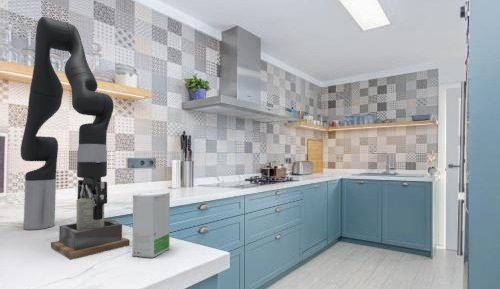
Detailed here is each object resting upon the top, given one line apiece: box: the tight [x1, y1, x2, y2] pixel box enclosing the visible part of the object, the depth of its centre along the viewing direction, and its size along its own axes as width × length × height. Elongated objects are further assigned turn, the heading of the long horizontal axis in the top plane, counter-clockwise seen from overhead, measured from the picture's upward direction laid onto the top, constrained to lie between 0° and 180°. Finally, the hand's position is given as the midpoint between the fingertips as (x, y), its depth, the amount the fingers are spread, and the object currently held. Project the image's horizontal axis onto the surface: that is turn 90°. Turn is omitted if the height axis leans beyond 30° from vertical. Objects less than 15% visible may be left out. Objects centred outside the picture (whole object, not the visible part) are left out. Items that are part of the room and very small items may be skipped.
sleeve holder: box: [50, 218, 130, 260], centre depth 81 cm, size 15×15×6 cm
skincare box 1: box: [76, 196, 105, 231], centre depth 82 cm, size 6×4×12 cm
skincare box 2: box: [131, 191, 171, 259], centre depth 76 cm, size 8×7×16 cm
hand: (91, 217), depth 82 cm, fingers open, 8 cm apart
